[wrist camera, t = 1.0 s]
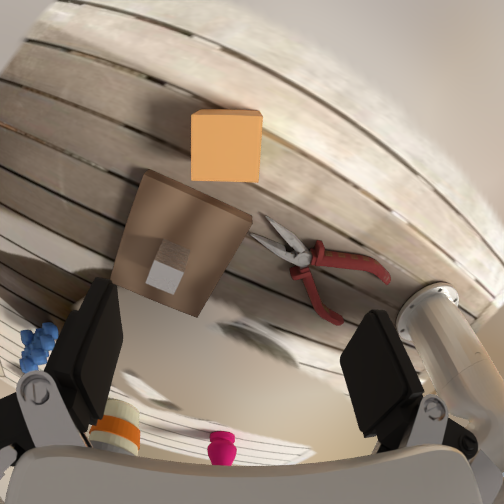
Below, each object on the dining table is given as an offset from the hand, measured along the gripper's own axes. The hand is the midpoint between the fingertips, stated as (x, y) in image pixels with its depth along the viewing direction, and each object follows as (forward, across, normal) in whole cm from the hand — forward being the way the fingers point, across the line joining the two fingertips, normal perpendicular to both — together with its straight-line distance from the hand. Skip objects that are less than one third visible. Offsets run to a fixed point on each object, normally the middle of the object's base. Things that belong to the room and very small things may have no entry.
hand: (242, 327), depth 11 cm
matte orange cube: (+24, +1, -2) cm, 24 cm away
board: (+24, +5, +13) cm, 28 cm away
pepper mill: (+23, -8, +67) cm, 71 cm away
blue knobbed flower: (+25, +29, +33) cm, 50 cm away
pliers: (+24, -15, +12) cm, 31 cm away
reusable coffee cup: (+24, +18, +60) cm, 67 cm away
